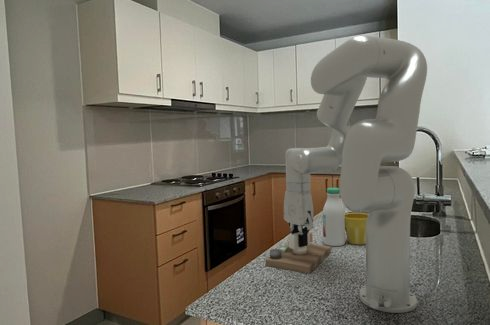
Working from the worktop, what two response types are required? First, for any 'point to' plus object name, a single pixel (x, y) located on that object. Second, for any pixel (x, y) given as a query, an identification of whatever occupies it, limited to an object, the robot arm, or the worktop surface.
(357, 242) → the plant pot
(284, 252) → the brown lever switch panel
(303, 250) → the wing knob
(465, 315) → the worktop surface
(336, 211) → the milk bottle
